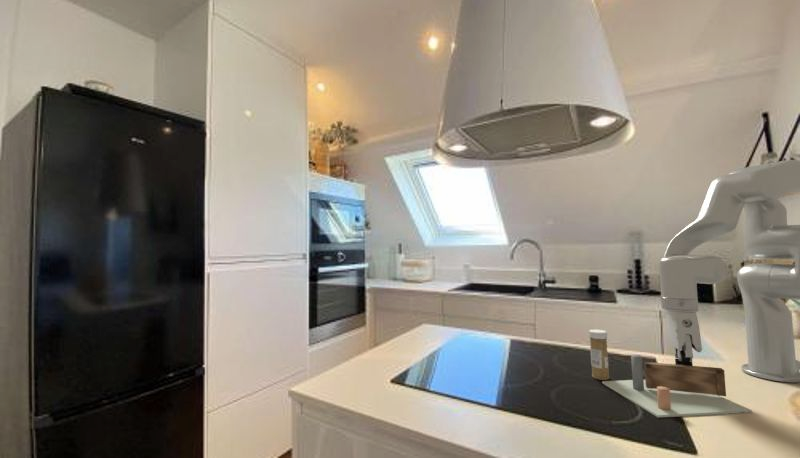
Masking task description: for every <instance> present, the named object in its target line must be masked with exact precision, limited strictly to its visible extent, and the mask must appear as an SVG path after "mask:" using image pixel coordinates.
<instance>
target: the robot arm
mask: <svg viewBox="0 0 800 458" xmlns="http://www.w3.org/2000/svg"><path fill="white" fill-rule="evenodd" d="M799 190H800V161H799V160H797V159H786V160H781V161H780V160H779V161H774V162H770V163H764V164H757V165H753V166H752V165H751V166H746V167H743V168H739V169H738V168H737V169H736V170H733V171H731V172H729V173H728V174H724V175H721V176H718V177H716V178H714V179H713V180H712V181H711V183H710V184H709V187H708V189H707V192H706V194H705V197H704V199H703V201H702V204H701V207H700V209H699V212H698V215H697V217H696V219H694V221H693V222H691V223H690V224H688V225H686V226H685V227H684V228H683V229H682V230H681V231H680V232H678V233H677V234H676V235H675V236H674V237H673V238H672V239H671V240H670V241H669V243H668V244H667V247H666V250H665V251H664V255H663V257H662V258H661V259H660V260H659V263H658V267H659V268H658V269H659V281H660V282H659V283H660V296H661V309H662V310H664V311H666V314H665V315H666V320H665V321H666V334H667V335H666V336H667V341H668V343H670V344H671V345H672V346H673V351H674V357H675V359H674V361H675V364H677V365H689V366H694V365H693V359H694V353H693V350H694V351H696V352H697V353H702V352H703V347H702V338H701V337H702V336H701V330H700V326H699V325H700V324H699V319H698V315H697V313H698V312H699V300H698V299H699V298H698V285H697V284H705V285H714V284H720V283H721V282H723V281H724V280H726V279H727V277H728V275H729V267H728V266H729V265H728V264H727V262H725V261H724V260H723V259H722V258H721V257H718V256H714V255H707V254H703V255H702V254H701V255H700V254H691V252H693V250H695V249H696V248H697V247H700V246H701V245H703V244H705V243H707V242H710V241H713V240H715V239H718V238H721V237H723V236H725V235H727V234H730V233H732V232H733V231H735V229H736V227H737V225H738V221H739V220H740V216H741V213H742V210H744V215H745V229H744V230H745V233H744V243H745V251H746V253H747V254H748V255H749V256H750V257H752V258H756V259H762V260H763V259H765V260H793V261H794V264H786V263H785V264H784V263H763V262H762V263H761V262H760V263H757V262H756V263H750V264H746V265H743V266H742V267H741V268H740V269H739V270H738V271H737V274H736V280H737V285H738V287H739V291H740V293H741V297H742V302H743V311H744V323H745V333H746V334H745V335H746V337H745V338H746V349H747V359H748V361H747V362H748V363H744V364H742V365H741V370H742V372H744V373H746V374H748V375H750V376H752V377H757V378H760V379H764V380H768V381H775V382H781V383H800V360H797V359H796V358H797V357H796V347H795V336H794V325H793V323H794V322H793V321H794V320H793V315H792V312H791V310H790V309H789V307H788V306H787V304H786V303H785V302H784V301H783V300H782V299H786V300H795V301H800V224H789V225H788V214H787V213H788V211H787V208H786V206H785V204H783V203H782V201H781V200H779V199H778V198H782V197H784V196H786V195H790V194H792V193H794V192H796V191H799Z"/></svg>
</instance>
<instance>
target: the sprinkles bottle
mask: <svg viewBox="0 0 800 458" xmlns="http://www.w3.org/2000/svg"><path fill="white" fill-rule="evenodd" d="M588 335H589V342H590V343H589V344H590V365H591V376H592V378H593V379H595V380H599V381H609V380H610V377H611V376H610V374H609V373H610V371H609V356H608V355H609V354H608V345H607V343H608V340H607V339H608V333H607V331H606V330H604V329H603V330H602V329H590V330H588Z"/></svg>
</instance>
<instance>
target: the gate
mask: <svg viewBox="0 0 800 458" xmlns="http://www.w3.org/2000/svg"><path fill="white" fill-rule="evenodd" d="M643 364H644V365H643V367H644V379H645V382H646V387H647V388H650V389H653V388H654V389H657V387H658V386H662V387H667V388H669V389H670V390H673V391H683V392H693V393H702V394H712V395H718V396H721V397H727V389H726V377H725V375H726V374H725V370H724V369H723V368H721V367H712V366H700V365H693V366H689V365H677V364H674V363H661V362H648V361H644V362H643Z"/></svg>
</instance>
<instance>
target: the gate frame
mask: <svg viewBox="0 0 800 458" xmlns="http://www.w3.org/2000/svg"><path fill="white" fill-rule="evenodd" d="M630 359H631V372H632V373H631V377H632V379H627V380H626V379H624V380H601V381H602V382H601V383H602V384H603V385H604V386H606V387H608V388H610V389H611V390H613V391H614V392H615V393H618V394H620V395H621V396H622V397H624V398H625V399H627V400H629V401H630V402H632V403H633V404H635V405H637V406H638V407H640V408H641V409H643V410H645V411H647V412H648V413H650V414H651V415H653V416H654V417H656V418H659V419H660V418H675V417H694V416H709V415H710V416H711V415H713V416H714V415H730V414H729V413H733V414H743V413H742V412H751V413H753V410H752V409H750V408H748V407H745V406H743V405H740V404H738V403H736V402H735V401H732V400H730V399H727V398H726V397H724V396H718V395H712V394H702V393H693V392H683V391H673V390H670V389H669V388H667V387H662V386H658V387H657V389H654V388H653V389H650V388H647V387H646V382H645V378H644V369H643V367H644V365H643V356H642V355H639V354H631V355H630ZM740 412H741V413H740Z"/></svg>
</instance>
